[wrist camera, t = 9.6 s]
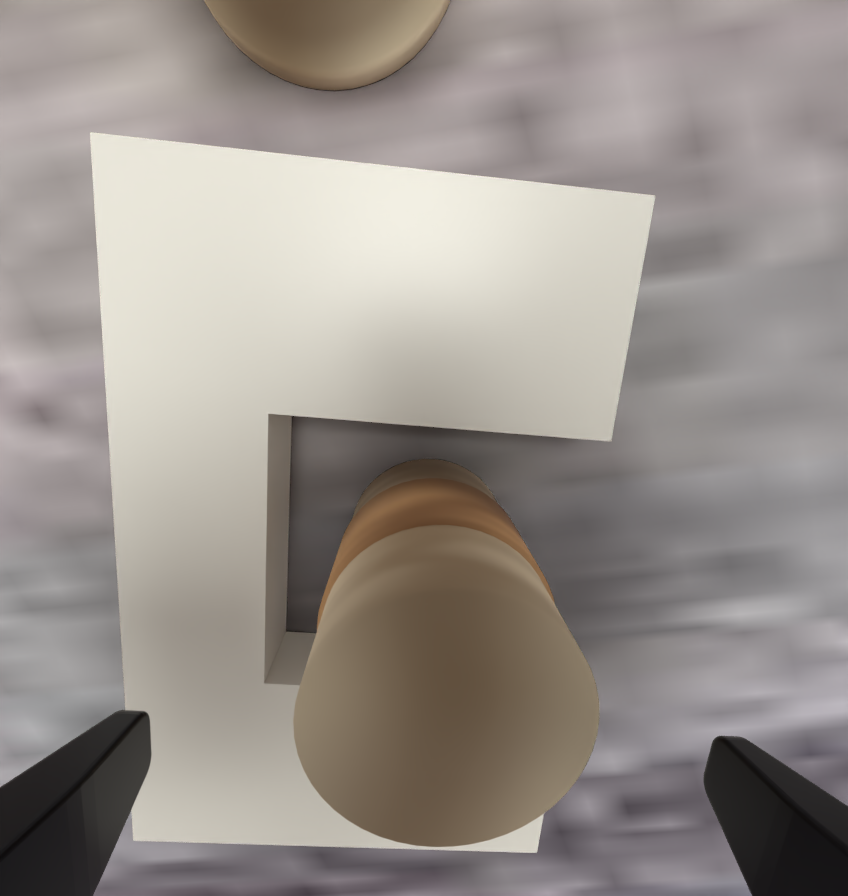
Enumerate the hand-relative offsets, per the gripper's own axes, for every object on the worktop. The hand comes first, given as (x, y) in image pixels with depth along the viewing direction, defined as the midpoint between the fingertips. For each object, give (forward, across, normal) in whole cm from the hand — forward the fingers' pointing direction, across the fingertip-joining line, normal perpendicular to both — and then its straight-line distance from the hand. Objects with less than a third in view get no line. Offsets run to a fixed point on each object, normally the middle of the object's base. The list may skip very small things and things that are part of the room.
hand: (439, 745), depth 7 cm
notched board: (+8, +2, 0) cm, 8 cm away
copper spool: (+8, 0, 0) cm, 8 cm away
